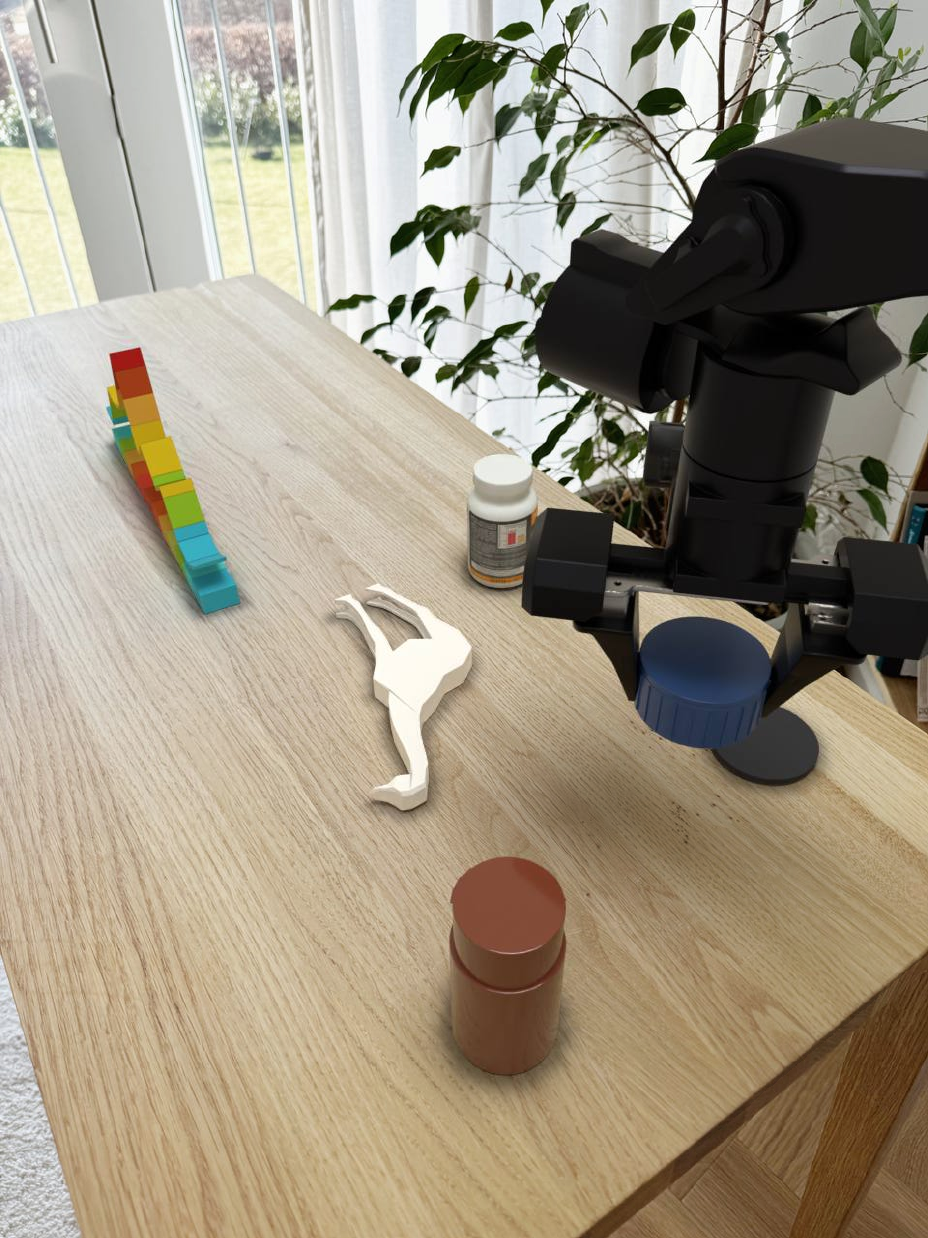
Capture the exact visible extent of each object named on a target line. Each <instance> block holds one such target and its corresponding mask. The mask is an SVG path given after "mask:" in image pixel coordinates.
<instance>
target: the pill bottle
mask: <svg viewBox="0 0 928 1238" xmlns="http://www.w3.org/2000/svg"><path fill="white" fill-rule="evenodd" d="M533 473H534V471H533V466H532V465H531V463H530V462H529V461H528V460H527V459H526V458H523V457H521V456H519V455H515V454H508V453H496V454H491V455H490V454H489V455H486V456H484V457H482V458H480V459H479V460H477V461H475V463H474V465H473V468H472V484H473V488H471V490H470V491H469V493H468V495H467V499H466V516H467V517H466V526H467V527H466V528H467V530H466V532H467V535H466V536H467V538H466V539H467V541H466V543H467V550H466V551H467V567H468V572H469V573H470V575H471V577H472V578H473V579H474V580H475V581H476V582H478V583H480V584H482V585H484V586H486V587H490V588H495V589H509V588H514V587H517V586H520V585H522V580H523V572H524V564H525V560H526V556H527V551H528V547H529V543H530V539H531V535H532V531H533V527H534V522H535V518H536V517H537V516H538V511H539V510H538V509H539V507H538V506H539V499H538V494H537V493H536V491H535V489H534V488H533V487H532V485H533V479H534V478H533V477H534V476H533Z"/></svg>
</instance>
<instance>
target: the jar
mask: <svg viewBox="0 0 928 1238" xmlns="http://www.w3.org/2000/svg"><path fill="white" fill-rule="evenodd" d="M566 901H567V898H566V896H565V894H564V891H563V888H562V886H561V885H560V883H559V881H558V880H557V879H556V877H555V876H554V875H553V874H552V873H551V872H550V871H549V870H548V869H546V868H545V866H542V865H540V864H539V863H538V862H535V861H532V860H530V859H528V858H523V857H519V856H512V855H511V856H506V855H505V856H504V855H503V856H497V857H492V858H488V859H486V860H482V861H481V862H479V863H477V864H475V865H473V866H472V867H469V868H468V869H467V870H466V871H465V872H464V873H463V874H462V875H461V876H459V878H458V880H457V881H456V883H455V885H454V887H453V888H452V892H451V896H450V899H449V904H451V905H452V923H451V927H450V931H449V937H448V947H449V949H448V950H449V951H448V952H449V978H450V979H449V980H450V1009H451V1010H450V1011H451V1014H450V1015H451V1031H452V1036H453V1039H454V1041H455V1044H456V1046H457V1048H458V1049H459V1051H460V1052H461V1053H462V1055H463V1056H464V1057H465V1058H466V1059H467V1060H468V1061H469V1063H471V1064H473V1065H474V1066H476V1067H477V1068H478V1069H481V1070H483V1071H485V1072H488V1073H491V1074H495V1075H502V1076H503V1075H505V1076H507V1075H509V1076H510V1075H517V1074H522V1073H524V1072H526V1071H529V1070H531V1069H534V1067H536V1066H538V1065H539V1064H540V1063H541V1062H542V1061H543V1060H544V1059H545V1058H547V1056H548V1055H549V1053H551V1050H552V1049H553V1047H554V1045H555V1044H554V1043H555V1041H556V1039H557V1034H558V1027H559V1020H560V1019H559V1017H560V1010H561V1009H560V1008H561V1001H562V990H563V982H564V973H565V965H566V954H567V935H566V931H565V925H566V916H567V915H566V914H567V902H566Z"/></svg>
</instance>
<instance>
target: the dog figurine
mask: <svg viewBox="0 0 928 1238" xmlns="http://www.w3.org/2000/svg"><path fill="white" fill-rule="evenodd" d="M365 592H370V593H374V594H378V595H382V596H385V597H387V598H388V599H390V600H392V601H394V602H395V603H397V604H399V605H401V606H403V607H404V608H406V609H408V610H410V611H411V612H412V613H414V614H415V615H416V616H415V615H413V614H412V613H409V612H407V611H406V610H404V609H402V608H400V607H398V606H396V605H395V604H393V603H392V602H390V601H387V600H384V599H382V597H381V596H378V597H376V598H373V599H370V600H368V601H366V605H368V606H372V607H376V608H380V609H381V608H382V609H384V610H386V611H388V612H390V613H392V614H394V615H395V616H397V617H399V618H401V619H402V620H404V621H406V622H408V623H409V624H411V625H412V626H414V627H415V628H416V629H417V631H418V632H419V634H420V636H421V637H422V638H409V639H407V640H405V642H403V643H402V644H401V645H400V646H398V647H397V648H396V649H394V650H393V649H392V647H391V645H390V643H389V641H388V638H387V637H386V636H385V634H384V633H383V632H382V631H381V629H380V628H379V627H378V625H376V624H375V623H374V622H373V620H372V619H371V618H370V616H369V614H367V612H366V611H365V609H364V608H363V606H362V604H361V603H360V601H358V600H356V599H355V598H354V597H353V596H352V595H351V593H349V594H346V595H343V596H341V597H338V598H334V605H337V606H346V607H348V608H347V609H343V610H341V611H340V612H336V613H335V617H336V619H343V620H345V619H346V620H348V621H350V622H351V623H353V624H354V626H356V627H357V629H358V630H359V631H360V633H361V634H362V636H363V637H364V640H365V642H366V644H367V646H368V648H369V650H370V652H371V654H372V656H373V657H374V659H375V668H374V672H373V678H372V679H373V691H374V692H373V693H374V698H375V699H377V700H378V701H379V702H380V703H381V704H383V706H385V707H386V708H388V713H389V723H390V729H391V734H392V739H393V741H394V745H395V747H396V750H397V752H398V754H399V755H400V758H401V760H402V761H403V763H404V766H405V768H406V770H407V772H408V774H400V775H399V774H398V775H396V776H394V777H393V779H391V780H390V782H388V783H386V784H384V785H383V784H382V785H380V786H375V787H372V789H371V791H370V793H369V796H370V798H372V800H376V801H380V802H386V803H388V804H390V805H392V806H394V807H396V808H397V809H398V810H400V811H409V810H412V809H414V808H416V807H418V806H420V805H421V804H424V803H425V802H426V801H428V793H429V784H430V774H429V773H430V771H429V770H430V769H429V760H428V757H427V753H426V750H425V746H424V742H423V737H422V730H423V726H424V724H425V723H426V721H428V719H429V718H430V717H431V716H432V715H433V714H434V713H435V712H436V710H437V708H438V707H439V704H440V703H441V701H442V700H443V697H444V695H445V694H447V693H449V692H450V691H452V690H454V689H455V688H457V687H459V686H461V685H463V684H464V682H465V681H466V678H467V676H468V674H469V672H470V670H471V668H472V667H473V647H472V644H470V643H469V641H468V639H467V638H465V636H464V635H463V634H462V632H461V630H460V629H458V628H457V627H454V626H452V625H450V624H448V623H447V622H445V621H443V620H441V619H439V618H437V617H436V616H435V615H434V614H433V612H432V611H431V610H430V609H429V608H428V607H425V606H422V605H421V604H418V603H415V602H414V601H411V600H410V599H408V598H406V597H405V596H402V595H400V594H398V593H397V592H395V591H394V590H392V589H390V588H389V587H386V586H382V585H381V584H380V582H377V583H375V584H373V585H370V586H367V587H365Z"/></svg>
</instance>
